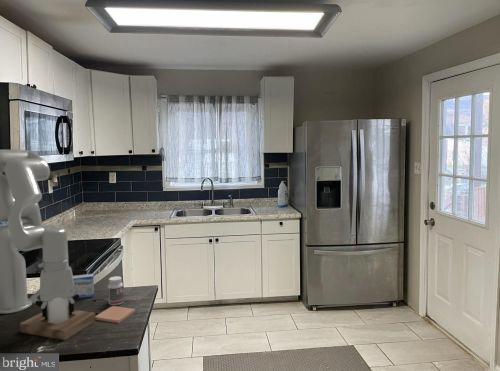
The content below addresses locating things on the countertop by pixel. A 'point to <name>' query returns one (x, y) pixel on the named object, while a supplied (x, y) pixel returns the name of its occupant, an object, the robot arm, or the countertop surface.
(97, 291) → the countertop surface
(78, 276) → the medicine box
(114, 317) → the tile
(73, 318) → the well board
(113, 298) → the pill bottle
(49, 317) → the can
